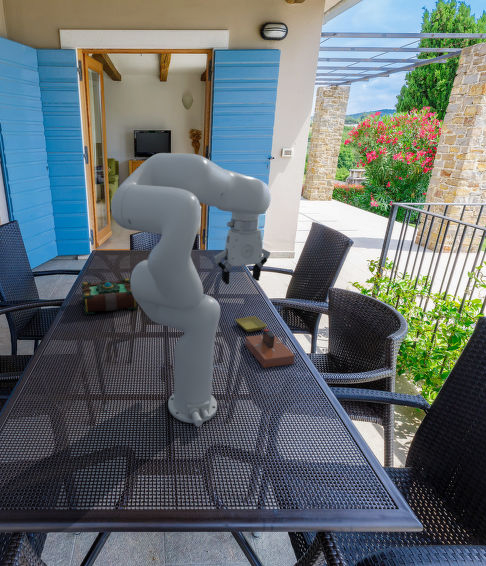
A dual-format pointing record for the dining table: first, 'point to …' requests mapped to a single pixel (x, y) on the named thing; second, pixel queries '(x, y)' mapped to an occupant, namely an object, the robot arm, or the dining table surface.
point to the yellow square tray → (251, 323)
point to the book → (108, 296)
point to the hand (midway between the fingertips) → (240, 280)
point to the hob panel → (269, 352)
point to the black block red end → (268, 338)
